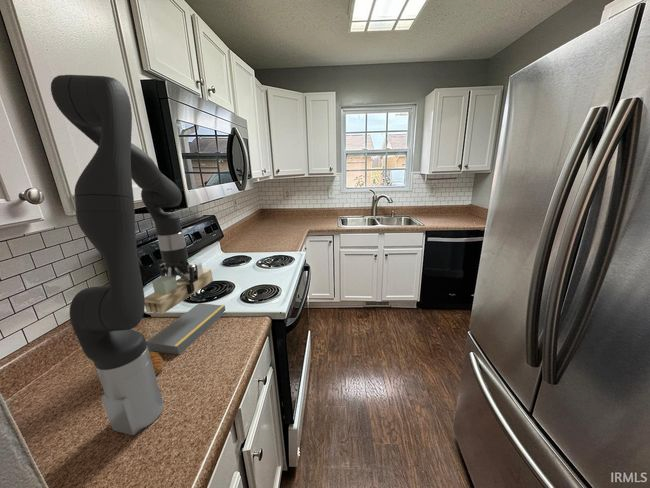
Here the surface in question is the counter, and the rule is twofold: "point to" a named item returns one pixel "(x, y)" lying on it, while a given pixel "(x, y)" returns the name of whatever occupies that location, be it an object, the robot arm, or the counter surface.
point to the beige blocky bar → (175, 294)
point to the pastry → (156, 361)
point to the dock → (186, 329)
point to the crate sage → (164, 284)
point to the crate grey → (199, 268)
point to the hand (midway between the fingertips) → (183, 292)
